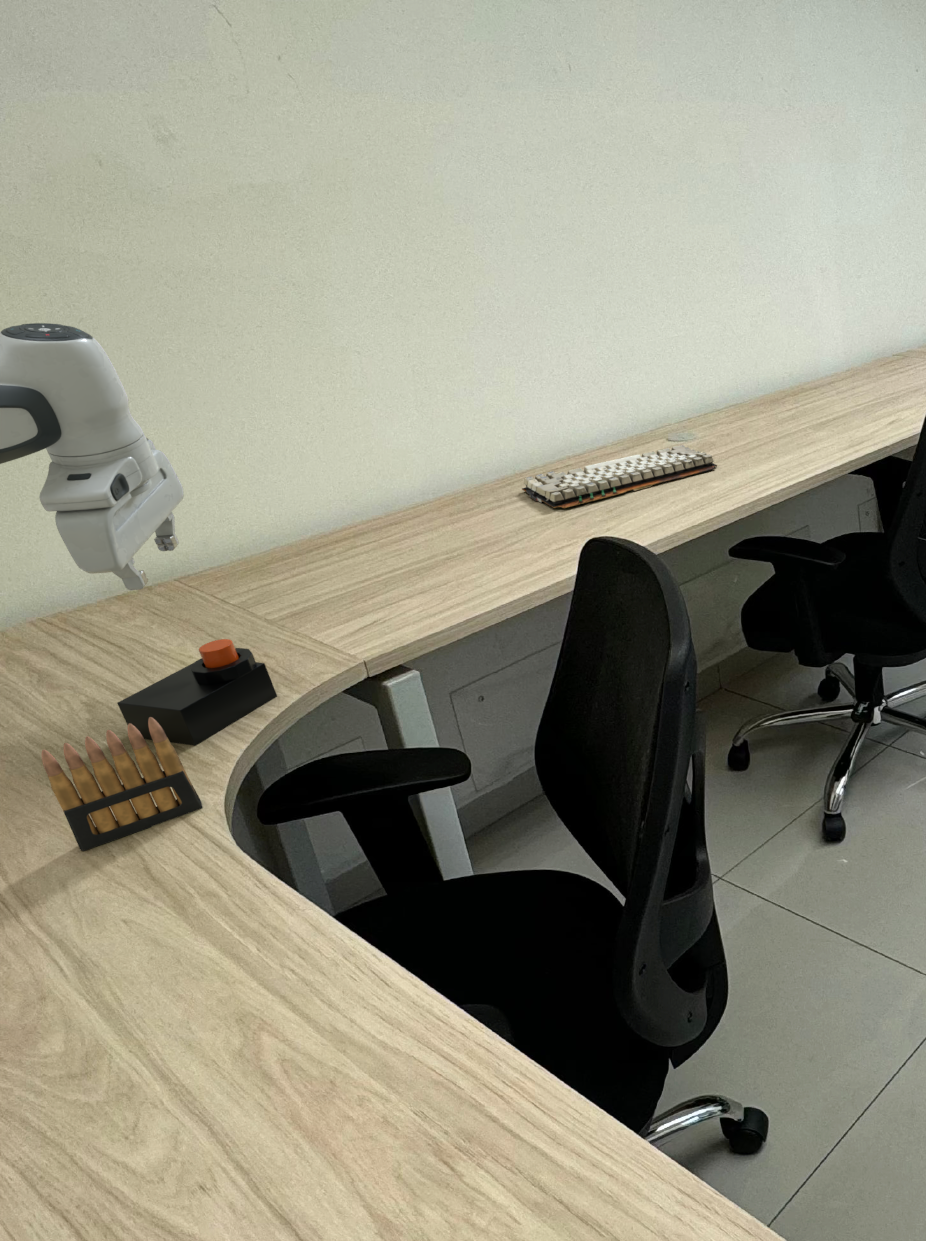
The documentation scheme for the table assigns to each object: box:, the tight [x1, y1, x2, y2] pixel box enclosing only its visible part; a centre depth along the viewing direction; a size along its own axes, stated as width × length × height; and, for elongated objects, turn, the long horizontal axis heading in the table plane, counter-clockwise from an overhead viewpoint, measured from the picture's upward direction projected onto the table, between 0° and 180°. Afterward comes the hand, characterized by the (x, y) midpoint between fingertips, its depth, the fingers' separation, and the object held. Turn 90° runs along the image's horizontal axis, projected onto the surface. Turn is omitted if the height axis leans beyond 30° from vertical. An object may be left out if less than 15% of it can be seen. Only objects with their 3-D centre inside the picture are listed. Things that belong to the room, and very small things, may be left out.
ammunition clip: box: [41, 717, 203, 852], centre depth 105 cm, size 11×2×12 cm, turn 131°
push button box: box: [116, 647, 278, 747], centre depth 127 cm, size 10×12×7 cm
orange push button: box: [198, 638, 239, 668], centre depth 127 cm, size 4×4×3 cm
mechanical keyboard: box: [521, 444, 718, 509], centre depth 212 cm, size 38×19×3 cm, turn 133°
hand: (154, 567), depth 121 cm, fingers open, 8 cm apart
